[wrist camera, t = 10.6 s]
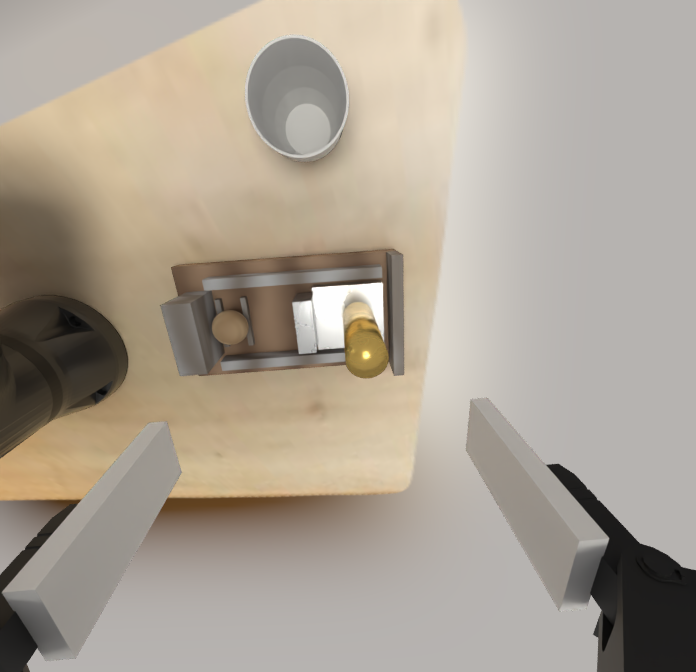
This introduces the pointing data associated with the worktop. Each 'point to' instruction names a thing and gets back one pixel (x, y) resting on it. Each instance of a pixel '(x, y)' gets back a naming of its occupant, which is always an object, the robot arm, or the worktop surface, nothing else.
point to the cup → (297, 97)
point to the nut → (230, 327)
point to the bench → (272, 310)
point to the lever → (344, 324)
